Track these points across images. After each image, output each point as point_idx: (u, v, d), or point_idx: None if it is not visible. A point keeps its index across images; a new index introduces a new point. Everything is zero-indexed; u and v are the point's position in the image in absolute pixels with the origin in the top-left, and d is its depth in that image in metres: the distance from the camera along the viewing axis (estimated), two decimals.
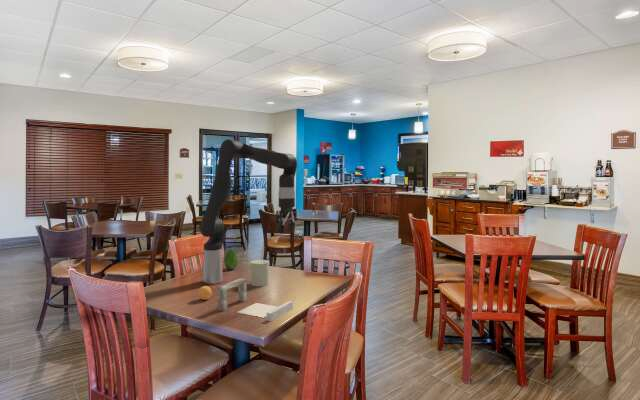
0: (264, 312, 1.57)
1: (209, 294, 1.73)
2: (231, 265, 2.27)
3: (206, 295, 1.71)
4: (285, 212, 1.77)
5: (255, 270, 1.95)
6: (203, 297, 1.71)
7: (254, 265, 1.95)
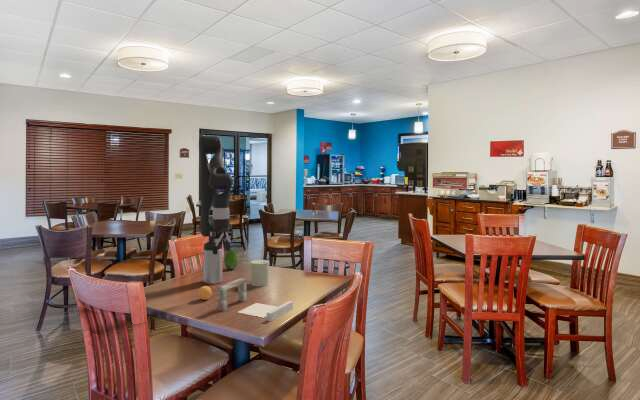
0: (264, 312, 1.57)
1: (209, 294, 1.73)
2: (231, 265, 2.27)
3: (206, 295, 1.71)
4: (219, 233, 1.75)
5: (255, 270, 1.95)
6: (203, 297, 1.71)
7: (254, 265, 1.95)
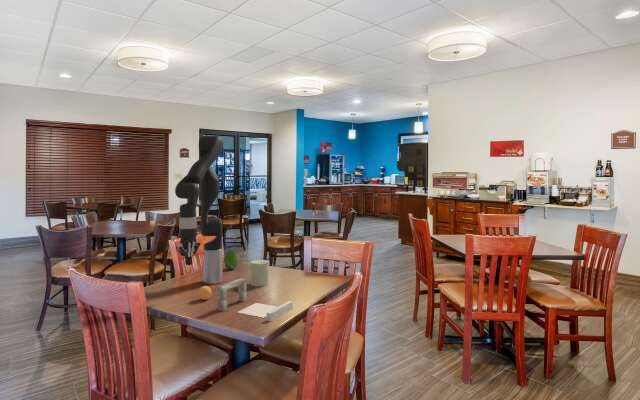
0: (264, 312, 1.57)
1: (209, 294, 1.73)
2: (231, 265, 2.27)
3: (206, 295, 1.71)
4: (185, 245, 1.74)
5: (255, 270, 1.95)
6: (203, 297, 1.71)
7: (254, 265, 1.95)
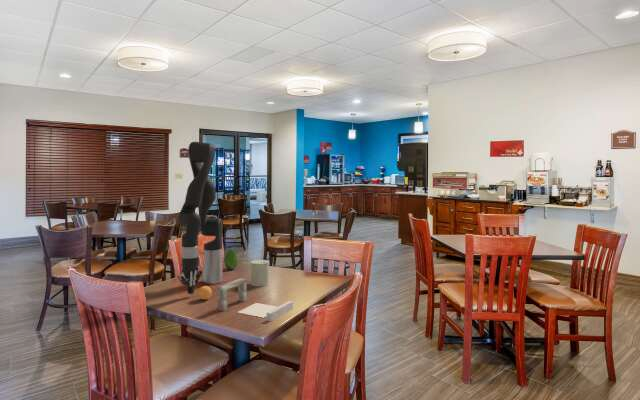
0: (264, 312, 1.57)
1: (209, 294, 1.73)
2: (231, 265, 2.27)
3: (206, 295, 1.71)
4: (187, 274, 1.74)
5: (255, 270, 1.95)
6: (203, 297, 1.71)
7: (254, 265, 1.95)
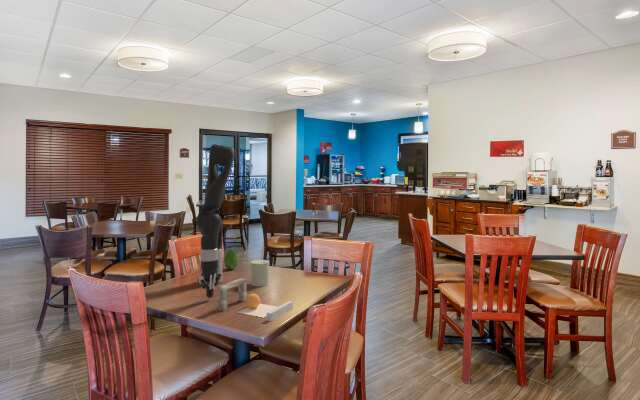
0: (264, 312, 1.57)
1: None
2: (231, 265, 2.27)
3: None
4: (207, 278, 1.69)
5: (255, 270, 1.95)
6: (246, 303, 1.62)
7: (254, 265, 1.95)
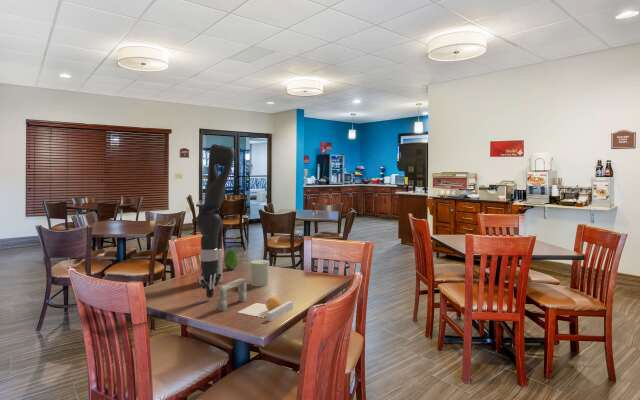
0: (264, 312, 1.57)
1: (277, 300, 1.58)
2: (231, 265, 2.27)
3: (274, 302, 1.56)
4: (207, 278, 1.69)
5: (255, 270, 1.95)
6: (274, 306, 1.56)
7: (254, 265, 1.95)
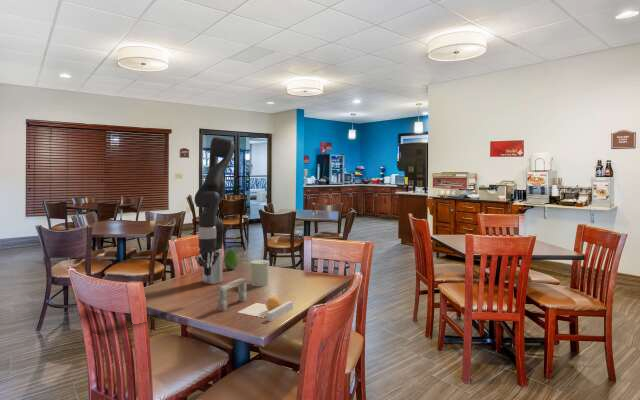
0: (264, 312, 1.57)
1: (277, 300, 1.58)
2: (231, 265, 2.27)
3: (274, 302, 1.56)
4: (204, 256, 1.69)
5: (255, 270, 1.95)
6: (274, 306, 1.56)
7: (254, 265, 1.95)
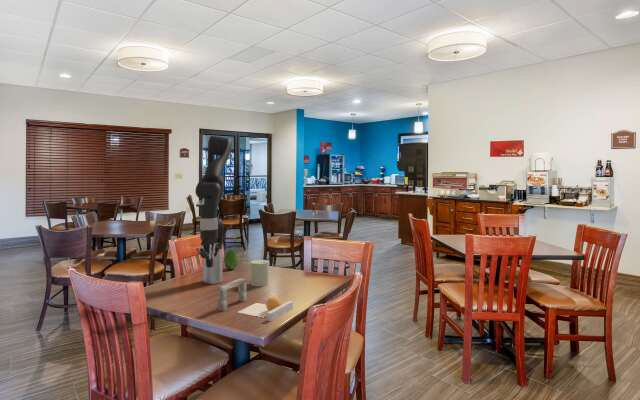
0: (264, 312, 1.57)
1: (277, 300, 1.58)
2: (231, 265, 2.27)
3: (274, 302, 1.56)
4: (206, 247, 1.68)
5: (255, 270, 1.95)
6: (274, 306, 1.56)
7: (254, 265, 1.95)
